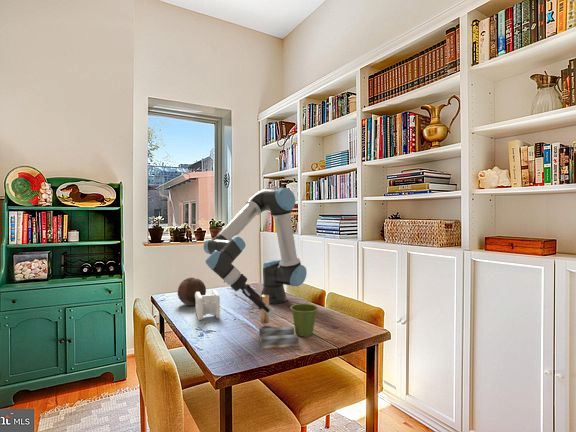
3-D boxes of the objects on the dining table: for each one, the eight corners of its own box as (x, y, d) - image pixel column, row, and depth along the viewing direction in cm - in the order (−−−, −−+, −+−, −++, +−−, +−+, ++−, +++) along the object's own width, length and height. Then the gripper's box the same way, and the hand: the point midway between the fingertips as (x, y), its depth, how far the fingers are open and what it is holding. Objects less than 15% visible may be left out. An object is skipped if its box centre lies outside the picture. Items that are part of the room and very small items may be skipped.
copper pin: (264, 320, 159) (263, 294, 159) (271, 321, 157) (270, 295, 156) (258, 322, 156) (258, 296, 156) (265, 324, 154) (265, 297, 153)
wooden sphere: (210, 301, 198) (210, 275, 197) (199, 309, 183) (198, 281, 182) (185, 300, 200) (185, 274, 200) (172, 308, 185) (172, 280, 185)
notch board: (261, 348, 131) (261, 339, 131) (259, 336, 143) (259, 328, 143) (297, 346, 133) (297, 337, 133) (292, 334, 145) (292, 326, 145)
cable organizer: (220, 319, 165) (220, 295, 165) (197, 322, 162) (197, 297, 162) (215, 311, 180) (215, 288, 179) (194, 313, 176) (194, 290, 176)
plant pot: (297, 341, 138) (297, 313, 138) (285, 331, 149) (285, 305, 149) (323, 336, 143) (323, 309, 143) (310, 327, 154) (310, 302, 154)
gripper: (229, 281, 162) (265, 314, 165) (229, 290, 145) (269, 326, 148) (241, 269, 163) (276, 302, 166) (241, 277, 146) (281, 313, 149)
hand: (273, 314), depth 157 cm, fingers closed on copper pin, 4 cm apart
